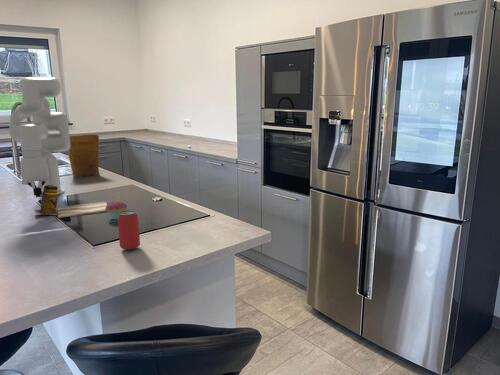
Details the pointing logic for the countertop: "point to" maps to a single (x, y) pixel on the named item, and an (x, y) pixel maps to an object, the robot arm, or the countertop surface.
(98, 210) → the cutting board
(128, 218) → the beer can
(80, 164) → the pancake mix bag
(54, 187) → the condiment
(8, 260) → the countertop surface
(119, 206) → the cupcake
